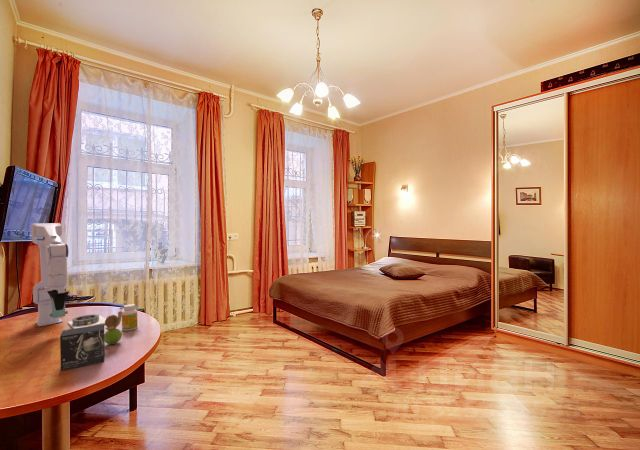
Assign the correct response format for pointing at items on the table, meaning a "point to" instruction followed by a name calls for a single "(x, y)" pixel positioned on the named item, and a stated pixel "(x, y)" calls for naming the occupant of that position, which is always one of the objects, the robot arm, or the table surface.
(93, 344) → the box
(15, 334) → the table surface
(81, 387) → the table surface
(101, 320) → the collar plate
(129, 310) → the supplement bottle
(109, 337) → the snail figurine
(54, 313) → the teal peg
